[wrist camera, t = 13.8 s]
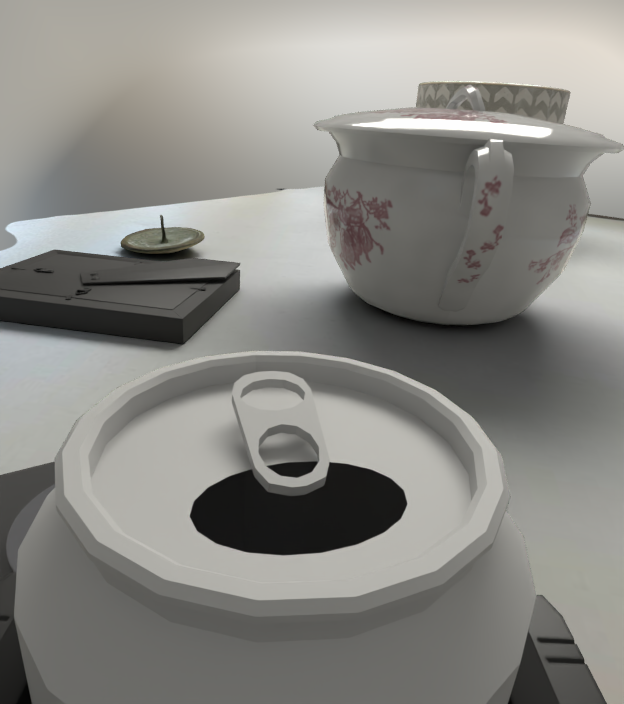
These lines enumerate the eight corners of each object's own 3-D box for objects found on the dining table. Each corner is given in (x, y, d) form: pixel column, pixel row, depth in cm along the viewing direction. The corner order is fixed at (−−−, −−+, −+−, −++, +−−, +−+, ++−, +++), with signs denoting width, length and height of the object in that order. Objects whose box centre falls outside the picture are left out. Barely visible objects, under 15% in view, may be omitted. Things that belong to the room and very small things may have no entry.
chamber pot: (403, 259, 75) (425, 93, 66) (614, 315, 57) (680, 100, 49) (243, 293, 56) (247, 67, 48) (486, 391, 39) (558, 63, 30)
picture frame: (239, 289, 57) (56, 268, 59) (240, 262, 56) (53, 242, 58) (183, 343, 43) (-55, 313, 45) (182, 309, 41) (-62, 280, 44)
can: (64, 1253, 8) (-150, 759, 4) (103, 743, 15) (48, 335, 10) (496, 1060, 10) (730, 579, 5) (361, 686, 17) (414, 322, 12)
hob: (-34, 512, 24) (-45, 465, 23) (335, 411, 34) (338, 376, 33) (-6, 771, 15) (-22, 710, 14) (484, 526, 25) (495, 482, 24)
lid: (217, 262, 72) (221, 224, 72) (172, 257, 63) (175, 213, 62) (153, 253, 76) (156, 217, 75) (101, 247, 67) (104, 206, 66)
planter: (547, 229, 107) (578, 96, 98) (523, 249, 87) (559, 84, 78) (426, 212, 118) (443, 91, 109) (380, 226, 98) (397, 79, 89)
